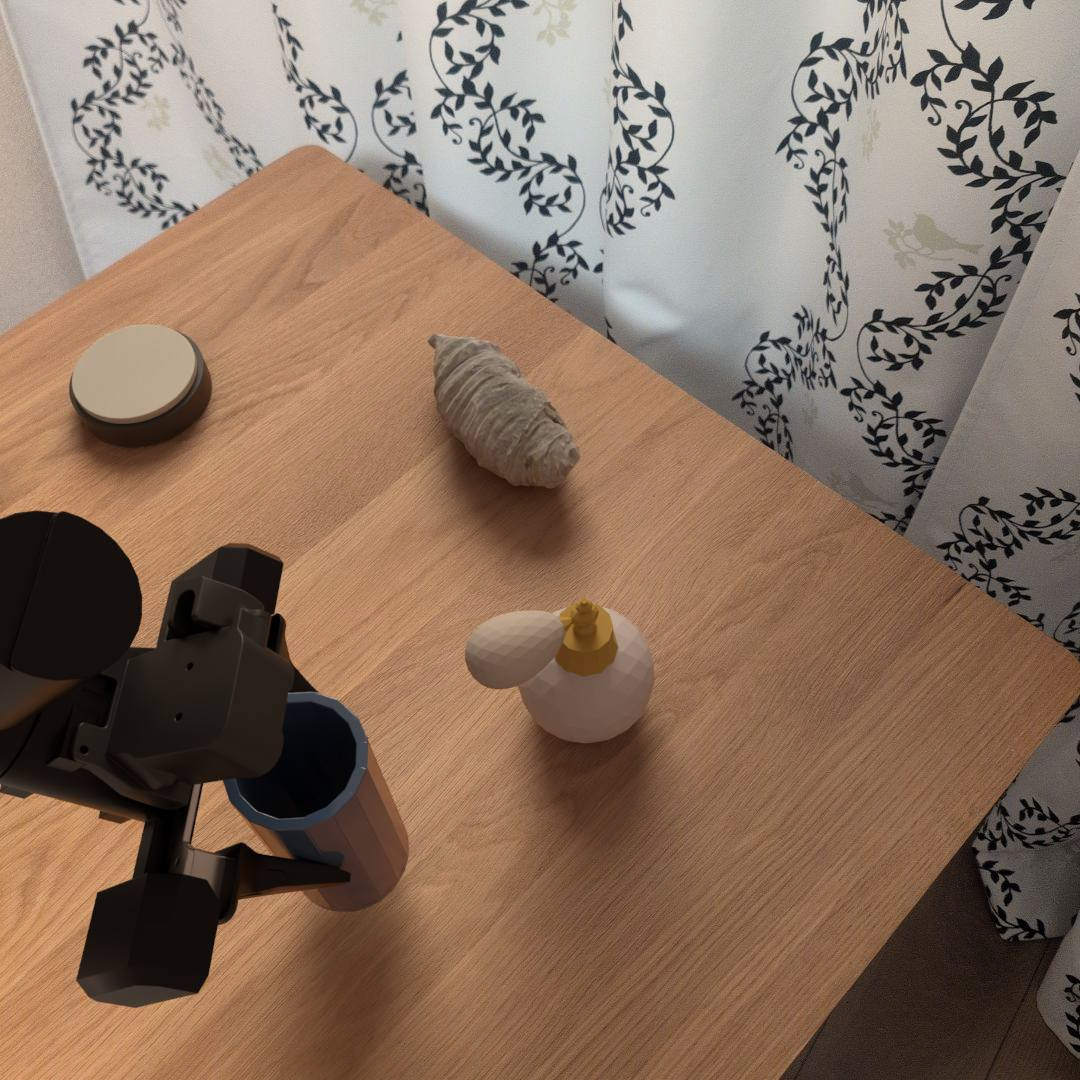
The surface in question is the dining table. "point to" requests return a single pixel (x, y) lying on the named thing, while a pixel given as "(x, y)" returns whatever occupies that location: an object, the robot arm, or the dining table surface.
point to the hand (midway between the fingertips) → (354, 810)
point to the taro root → (500, 413)
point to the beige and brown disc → (140, 385)
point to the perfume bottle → (567, 668)
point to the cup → (327, 804)
